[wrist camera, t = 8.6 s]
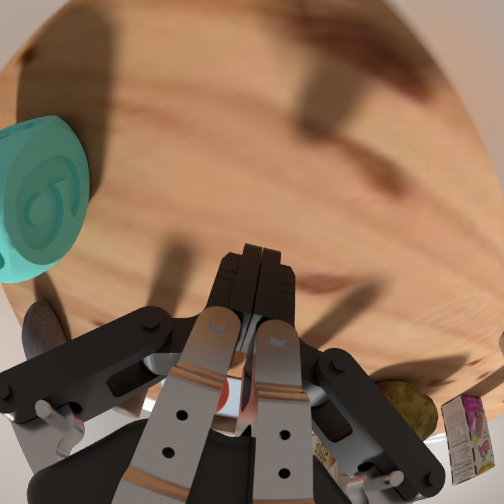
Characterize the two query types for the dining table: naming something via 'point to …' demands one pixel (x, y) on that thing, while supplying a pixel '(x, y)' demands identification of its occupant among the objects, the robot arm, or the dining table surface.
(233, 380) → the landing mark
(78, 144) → the decorative dice
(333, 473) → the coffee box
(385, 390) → the potato
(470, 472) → the candy bar box
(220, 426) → the stopper rail
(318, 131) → the dining table surface
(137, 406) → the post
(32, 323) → the perforated stone tool
